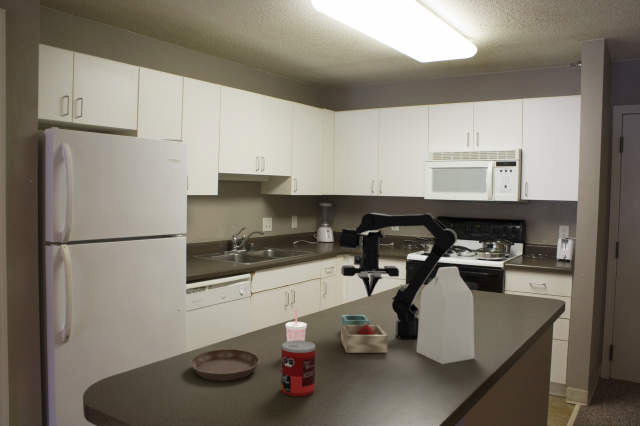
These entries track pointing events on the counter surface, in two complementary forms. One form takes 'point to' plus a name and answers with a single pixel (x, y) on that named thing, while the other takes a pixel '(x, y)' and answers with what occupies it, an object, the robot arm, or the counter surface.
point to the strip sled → (361, 336)
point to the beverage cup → (296, 330)
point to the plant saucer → (225, 364)
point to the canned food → (298, 368)
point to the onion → (365, 330)
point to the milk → (446, 318)
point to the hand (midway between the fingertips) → (369, 296)
